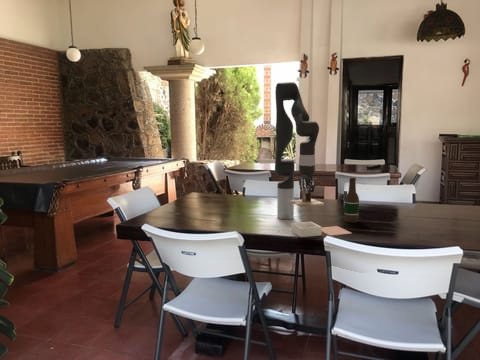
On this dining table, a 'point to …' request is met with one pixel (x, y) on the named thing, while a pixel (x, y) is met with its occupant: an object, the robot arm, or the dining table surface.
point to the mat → (334, 230)
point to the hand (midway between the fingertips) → (306, 200)
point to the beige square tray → (306, 229)
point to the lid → (306, 203)
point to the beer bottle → (351, 203)
